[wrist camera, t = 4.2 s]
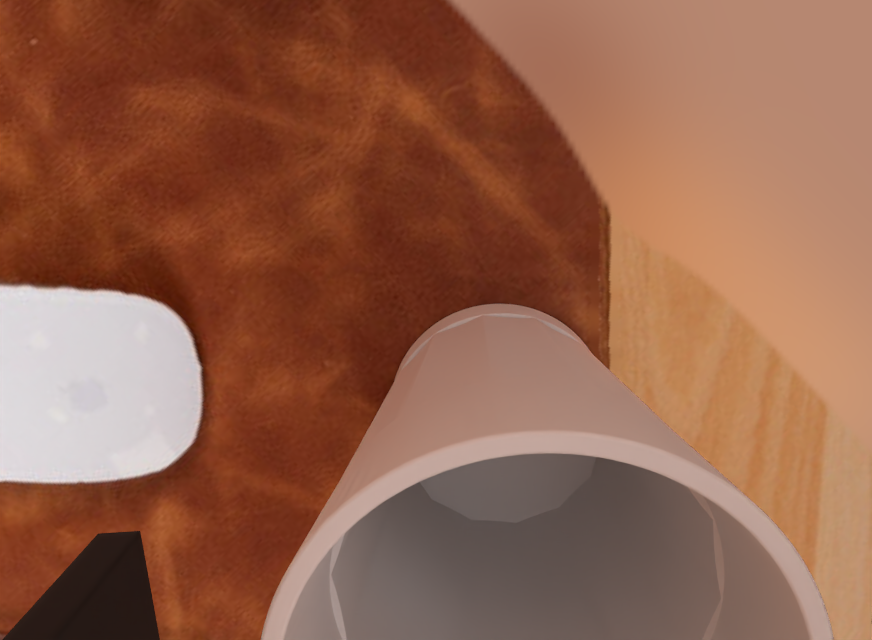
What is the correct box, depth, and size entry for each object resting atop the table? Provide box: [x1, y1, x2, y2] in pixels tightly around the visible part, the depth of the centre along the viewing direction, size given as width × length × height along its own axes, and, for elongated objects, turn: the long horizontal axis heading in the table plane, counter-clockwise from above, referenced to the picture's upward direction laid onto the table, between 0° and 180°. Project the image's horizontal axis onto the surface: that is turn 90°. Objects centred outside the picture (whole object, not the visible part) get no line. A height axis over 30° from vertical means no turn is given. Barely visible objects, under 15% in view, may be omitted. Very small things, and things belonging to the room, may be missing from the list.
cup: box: [261, 304, 834, 640], centre depth 16 cm, size 8×8×12 cm
